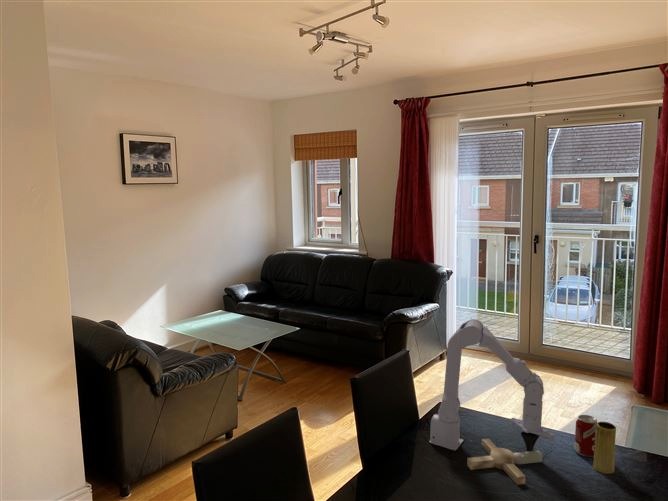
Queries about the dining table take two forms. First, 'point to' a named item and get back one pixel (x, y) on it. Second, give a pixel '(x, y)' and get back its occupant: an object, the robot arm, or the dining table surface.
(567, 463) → the dining table surface
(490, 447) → the stool base
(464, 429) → the dining table surface
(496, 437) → the dining table surface
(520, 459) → the hinged leg
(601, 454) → the vase
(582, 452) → the soda can
